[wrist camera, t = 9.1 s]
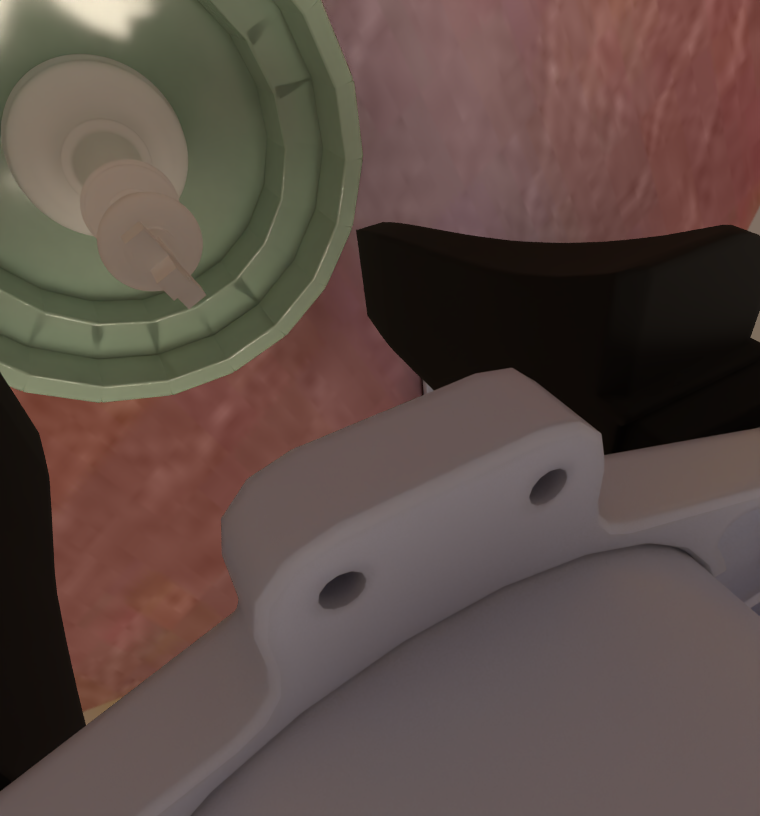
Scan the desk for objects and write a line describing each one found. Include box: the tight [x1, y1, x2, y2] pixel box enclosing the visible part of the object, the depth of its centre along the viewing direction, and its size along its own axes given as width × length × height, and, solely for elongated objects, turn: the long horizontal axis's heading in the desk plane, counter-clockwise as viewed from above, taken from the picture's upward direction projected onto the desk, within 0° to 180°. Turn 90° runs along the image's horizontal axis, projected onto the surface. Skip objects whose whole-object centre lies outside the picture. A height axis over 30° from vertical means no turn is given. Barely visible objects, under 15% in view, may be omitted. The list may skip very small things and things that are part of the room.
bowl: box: [0, 0, 363, 403], centre depth 17 cm, size 13×13×4 cm
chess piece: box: [1, 54, 206, 309], centre depth 14 cm, size 5×5×10 cm
